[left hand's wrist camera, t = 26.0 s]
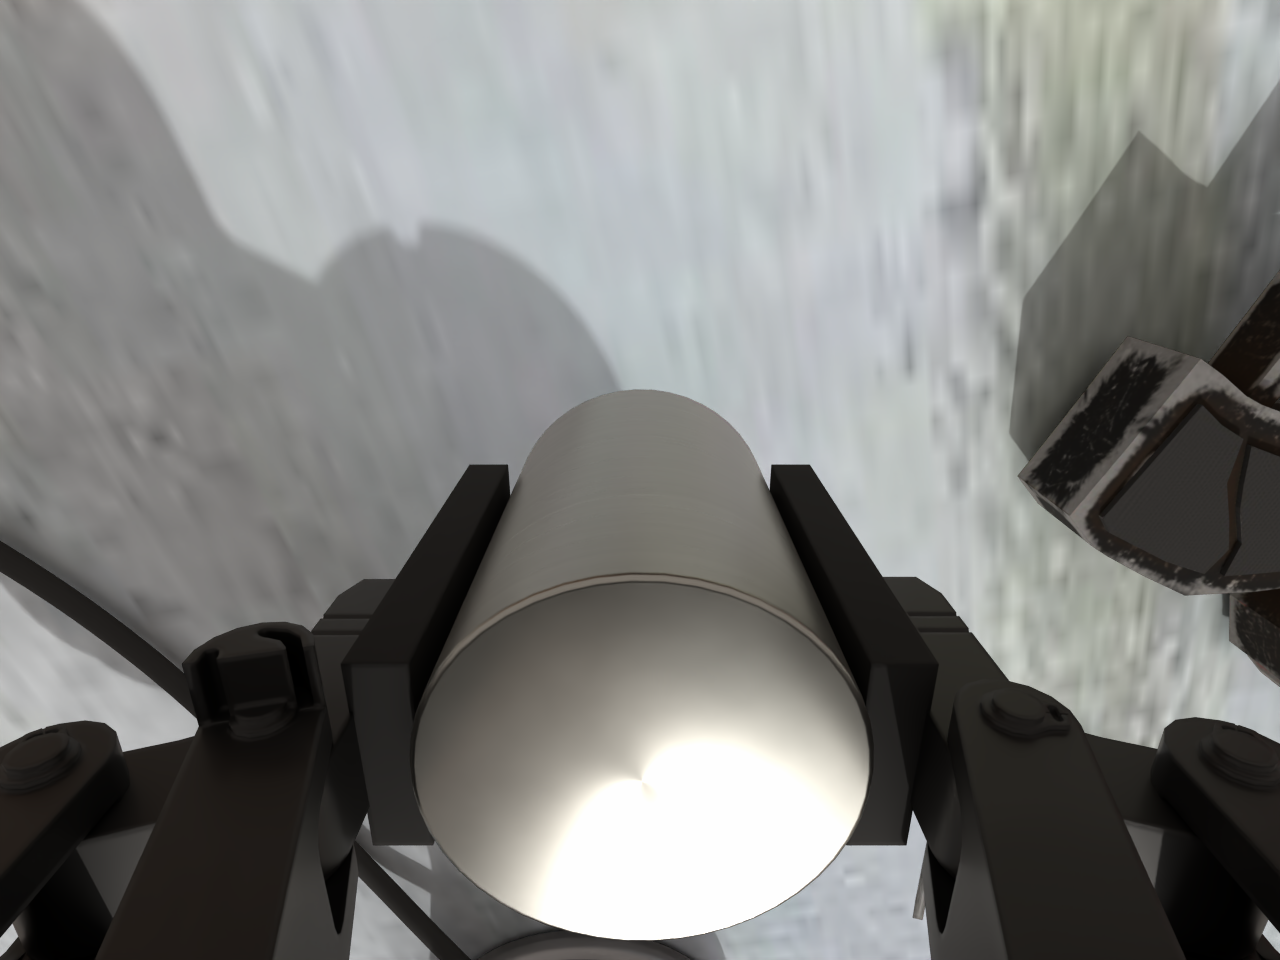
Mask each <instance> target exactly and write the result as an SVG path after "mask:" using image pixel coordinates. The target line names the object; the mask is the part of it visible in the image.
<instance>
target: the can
mask: <svg viewBox="0 0 1280 960" xmlns="http://www.w3.org/2000/svg"><path fill="white" fill-rule="evenodd" d="M410 768H411V777H412V785H413V790H414V793H415V797H416V800H417V803H418V807H419V810H420V813H421V815H422V817H423V819H424V821H425V823H426V825H427V828H428V830H429V832H430V834H431V835H432V837H433V838H434V840H435V841H436V843H437V844H438V846H439V847H440V849H441V850H442V852H443V853H444V854H445V855H446V857H447V858H448V859H449V860H450V861H451V862H452V863H453V865H454V866H455V867H456V868H457V869H458V870H459V871H460V872H461V873H462V874H463V875H464V876H465V877H466V878H468V879H469V880H470V881H471V882H472V883H473V884H474V885H475V886H477V887H478V888H479V889H481V890H482V891H483V892H485V893H486V894H488V895H489V896H491V897H492V898H493V899H495V900H496V901H498V902H499V903H501V904H503V905H505V906H507V907H509V908H510V909H512V910H514V911H516V912H518V913H520V914H521V915H524V916H526V917H529V918H531V919H533V920H536V921H538V922H541V923H543V924H545V925H549V926H552V927H555V928H559V929H562V930H565V931H568V932H572V933H577V934H582V935H587V936H592V937H597V938H606V939H615V940H630V941H655V940H668V939H679V938H685V937H691V936H697V935H702V934H707V933H710V932H714V931H718V930H722V929H725V928H729V927H732V926H735V925H737V924H740V923H742V922H745V921H748V920H750V919H753V918H755V917H757V916H759V915H761V914H763V913H765V912H767V911H769V910H771V909H773V908H775V907H777V906H779V905H781V904H782V903H784V902H785V901H787V900H788V899H790V898H791V897H793V896H794V895H796V894H798V893H799V892H800V891H802V890H803V889H804V888H805V887H806V886H808V885H809V884H810V883H811V882H813V881H814V880H815V879H816V878H817V877H819V876H820V875H821V874H822V872H823V871H824V870H825V869H826V868H827V867H828V866H829V865H830V864H831V863H832V862H833V861H834V860H835V859H836V857H837V856H838V855H839V853H840V852H841V851H842V849H843V848H844V846H845V845H846V844H847V842H848V841H849V840H850V838H851V836H852V834H853V832H854V830H855V828H856V827H857V825H858V823H859V821H860V819H861V817H862V814H863V811H864V808H865V805H866V802H867V799H868V797H869V792H870V787H871V781H872V775H873V769H874V741H873V735H872V729H871V723H870V718H869V715H868V712H867V709H866V706H865V703H864V700H863V697H862V695H861V692H860V690H859V688H858V686H857V684H856V681H855V679H854V677H853V675H852V672H851V670H850V668H849V666H848V664H847V661H846V659H845V657H844V655H843V652H842V650H841V648H840V646H839V644H838V641H837V639H836V637H835V635H834V633H833V630H832V628H831V626H830V624H829V621H828V619H827V617H826V615H825V613H824V610H823V608H822V606H821V604H820V601H819V599H818V597H817V595H816V593H815V590H814V588H813V586H812V584H811V582H810V579H809V577H808V575H807V573H806V570H805V568H804V566H803V564H802V562H801V559H800V557H799V555H798V553H797V550H796V548H795V546H794V544H793V542H792V539H791V537H790V535H789V533H788V530H787V528H786V526H785V524H784V522H783V519H782V517H781V515H780V513H779V511H778V508H777V506H776V504H775V502H774V499H773V497H772V495H771V493H770V491H769V488H768V486H767V484H766V482H765V479H764V477H763V475H762V473H761V471H760V468H759V466H758V464H757V462H756V460H755V458H754V456H753V454H752V452H751V450H750V448H749V447H748V445H747V444H746V442H745V441H744V440H743V438H742V437H741V435H740V434H739V433H738V432H737V431H736V430H735V429H734V428H733V427H732V426H731V425H730V424H729V423H728V422H727V421H726V420H725V419H723V418H722V417H721V416H720V415H718V414H717V413H716V412H714V411H713V410H711V409H709V408H708V407H706V406H704V405H703V404H701V403H699V402H696V401H694V400H692V399H689V398H687V397H684V396H681V395H677V394H673V393H670V392H664V391H657V390H637V389H635V390H626V391H617V392H613V393H609V394H605V395H601V396H598V397H596V398H593V399H591V400H588V401H585V402H584V403H582V404H580V405H578V406H576V407H574V408H572V409H571V410H569V411H568V412H567V413H565V414H564V415H562V416H561V417H560V418H558V419H557V420H556V421H555V422H554V423H553V424H552V425H551V426H550V427H549V428H548V429H547V430H546V431H545V432H544V433H543V435H542V436H541V437H540V438H539V440H538V441H537V442H536V444H535V445H534V447H533V449H532V451H531V452H530V454H529V456H528V458H527V460H526V462H525V464H524V467H523V469H522V471H521V473H520V476H519V478H518V480H517V482H516V485H515V487H514V489H513V492H512V494H511V496H510V498H509V501H508V503H507V505H506V507H505V510H504V512H503V514H502V516H501V519H500V521H499V523H498V525H497V528H496V530H495V532H494V534H493V537H492V539H491V541H490V543H489V546H488V548H487V550H486V552H485V555H484V557H483V559H482V561H481V564H480V566H479V568H478V570H477V573H476V575H475V577H474V580H473V582H472V584H471V586H470V589H469V591H468V593H467V595H466V598H465V600H464V602H463V604H462V607H461V609H460V611H459V613H458V616H457V618H456V620H455V622H454V625H453V627H452V629H451V631H450V634H449V636H448V638H447V640H446V643H445V645H444V647H443V649H442V652H441V654H440V656H439V658H438V661H437V663H436V665H435V668H434V670H433V672H432V674H431V677H430V679H429V681H428V683H427V686H426V688H425V690H424V693H423V695H422V698H421V700H420V703H419V705H418V708H417V710H416V714H415V718H414V723H413V727H412V732H411V739H410Z"/></svg>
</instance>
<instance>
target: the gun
mask: <svg viewBox="0 0 1280 960" xmlns="http://www.w3.org/2000/svg"><path fill="white" fill-rule="evenodd" d="M1279 397H1280V270H1279V272H1278V273H1277V274H1276V276H1275V277H1274V278H1273V279H1272V281H1271V282H1270V283H1269V285H1268V286H1267V287H1266V288H1265V290H1264V291H1263V292H1262V294H1261V295H1260V296H1259V298H1258V299H1257V300H1256V301H1255V303H1254V304H1253V305H1252V307H1251V308H1250V309H1249V311H1248V312H1247V313H1246V314H1245V316H1244V317H1243V318H1242V320H1241V321H1240V322H1239V324H1238V325H1237V326H1236V327H1235V329H1234V330H1233V331H1232V333H1231V334H1230V335H1229V337H1228V338H1227V339H1226V340H1225V342H1224V343H1223V344H1222V346H1221V347H1220V348H1219V350H1218V351H1217V352H1216V353H1215V355H1214V356H1213V357H1212V359H1211V360H1210V361H1209V363H1208V364H1207V363H1206V362H1205V361H1203V360H1202V359H1200V358H1197V357H1193V356H1190V355H1187V354H1184V353H1181V352H1177V351H1174V350H1171V349H1168V348H1165V347H1161V346H1158V345H1155V344H1152V343H1149V342H1145V341H1142V340H1139V339H1136V338H1133V337H1129V336H1127V338H1126V339H1125V340H1124V341H1123V343H1122V344H1121V345H1120V347H1119V348H1118V349H1117V350H1116V352H1115V353H1114V354H1113V356H1112V357H1111V358H1110V359H1109V361H1108V362H1107V363H1106V364H1105V366H1104V367H1103V368H1102V370H1101V371H1100V372H1099V373H1098V375H1097V376H1096V377H1095V379H1094V380H1093V381H1092V382H1091V384H1090V385H1089V386H1088V388H1087V389H1086V390H1085V391H1084V393H1083V394H1082V395H1081V397H1080V398H1079V399H1078V400H1077V402H1076V403H1075V404H1074V406H1073V407H1072V408H1071V409H1070V411H1069V412H1068V413H1067V415H1066V416H1065V417H1064V418H1063V420H1062V421H1061V422H1060V423H1059V425H1058V426H1057V427H1056V428H1055V430H1054V431H1053V432H1052V433H1051V435H1050V436H1049V437H1048V438H1047V440H1046V441H1045V442H1044V443H1043V445H1042V446H1041V447H1040V448H1039V450H1038V451H1037V452H1036V453H1035V455H1034V456H1033V457H1032V459H1031V460H1030V461H1029V462H1028V464H1027V465H1026V466H1025V467H1024V469H1023V470H1022V471H1021V472H1020V474H1019V475H1018V477H1019V479H1020V480H1021V481H1022V483H1023V484H1024V485H1025V487H1026V488H1027V489H1028V491H1029V492H1030V493H1031V495H1032V496H1033V497H1034V499H1035V500H1036V501H1037V503H1038V504H1039V505H1041V506H1042V507H1043V508H1044V509H1046V510H1047V511H1048V512H1050V513H1051V514H1052V515H1053V516H1055V517H1056V518H1057V519H1058V520H1060V521H1061V522H1062V523H1063V524H1065V525H1066V526H1067V527H1068V528H1070V529H1071V530H1072V531H1074V532H1075V533H1076V534H1077V535H1079V536H1080V537H1081V538H1082V539H1084V540H1085V541H1086V542H1087V543H1089V544H1090V545H1091V546H1093V547H1094V548H1096V549H1097V550H1099V551H1100V552H1102V553H1103V554H1105V555H1106V556H1108V557H1110V558H1112V559H1113V560H1115V561H1117V562H1119V563H1121V564H1123V565H1124V566H1126V567H1128V568H1130V569H1132V570H1134V571H1135V572H1137V573H1139V574H1141V575H1143V576H1145V577H1147V578H1149V579H1151V580H1153V581H1155V582H1158V583H1160V584H1162V585H1164V586H1166V587H1168V588H1170V589H1172V590H1174V591H1177V592H1179V593H1181V594H1183V595H1202V594H1221V593H1230V613H1229V641H1230V642H1231V643H1233V644H1234V645H1235V646H1237V647H1238V648H1239V649H1241V650H1242V651H1243V652H1244V653H1246V654H1247V655H1248V657H1249V658H1250V659H1251V660H1252V662H1253V663H1254V664H1255V665H1256V667H1257V668H1258V669H1259V670H1260V672H1261V673H1263V674H1264V675H1265V676H1266V677H1268V678H1269V679H1270V680H1272V681H1273V682H1274V683H1275V684H1277V685H1278V686H1279V687H1280V401H1277V400H1278V399H1279Z"/></svg>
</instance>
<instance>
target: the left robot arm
mask: <svg viewBox="0 0 1280 960" xmlns="http://www.w3.org/2000/svg"><path fill="white" fill-rule="evenodd" d="M770 493H771V495H772V497H773V499H774V502H775V504H776V506H777V508H778V511H779V513H780V515H781V517H782V519H783V522H784V524H785V526H786V528H787V530H788V533H789V535H790V537H791V539H792V542H793V544H794V546H795V548H796V550H797V553H798V555H799V557H800V559H801V562H802V564H803V566H804V568H805V570H806V573H807V575H808V577H809V579H810V582H811V584H812V586H813V588H814V590H815V593H816V595H817V597H818V599H819V601H820V604H821V606H822V608H823V610H824V613H825V615H826V617H827V619H828V621H829V624H830V626H831V628H832V630H833V633H834V635H835V637H836V639H837V641H838V644H839V646H840V648H841V650H842V652H843V655H844V657H845V659H846V661H847V664H848V666H849V668H850V670H851V672H852V675H853V677H854V679H855V681H856V684H857V686H858V688H859V690H860V692H861V695H862V697H863V700H864V703H865V706H866V709H867V712H868V715H869V718H870V723H871V729H872V735H873V741H874V769H873V775H872V781H871V787H870V792H869V797H868V799H867V802H866V805H865V808H864V811H863V814H862V817H861V819H860V821H859V823H858V825H857V827H856V828H855V830H854V832H853V834H852V836H851V838H850V840H849V841H848V842H847V844H846V845H907V839H908V833H909V828H910V822H911V817H912V811H914V814H915V816H916V818H917V820H918V822H919V825H920V827H921V829H922V831H923V834H924V836H925V838H926V840H927V843H926V848H925V854H924V859H923V864H922V869H921V874H920V879H919V885H918V890H917V895H916V900H915V906H914V913H913V918H916V919H920V920H922V919H923V914H924V909H925V908H926V917H927V926H928V935H929V944H930V953H931V960H1280V953H1279V952H1278V951H1276V950H1275V949H1274V947H1273V946H1272V945H1271V944H1270V942H1269V941H1268V940H1267V939H1266V938H1265V936H1264V935H1263V934H1262V933H1263V931H1264V928H1265V926H1266V924H1267V922H1268V920H1269V921H1270V922H1271V923H1272V924H1273V926H1274V927H1275V928H1276V929H1277V930H1278V931H1279V933H1280V744H1279V743H1277V742H1275V741H1273V740H1271V739H1269V738H1267V737H1265V736H1263V735H1261V734H1259V733H1257V732H1256V731H1254V730H1251V729H1249V728H1246V727H1243V726H1240V725H1238V726H1237V725H1235V724H1233V723H1229V722H1225V721H1220V720H1213V719H1205V718H1197V717H1193V718H1186V719H1178V720H1175V721H1173V722H1172V723H1171V724H1169V725H1168V726H1167V727H1166V728H1164V731H1163V734H1162V737H1161V741H1160V744H1159V747H1158V749H1155V748H1150V747H1145V746H1141V745H1136V744H1131V743H1126V742H1121V741H1117V740H1112V739H1107V738H1102V737H1098V736H1095V735H1091V734H1087V733H1084V730H1083V728H1082V726H1081V724H1080V723H1079V722H1078V720H1077V719H1076V718H1075V716H1074V715H1073V714H1072V712H1071V711H1070V710H1069V709H1068V708H1066V707H1065V706H1064V705H1062V704H1061V703H1059V702H1058V701H1057V700H1055V699H1054V698H1053V697H1051V696H1049V695H1047V694H1045V693H1043V692H1040V691H1038V690H1036V689H1034V688H1032V687H1030V686H1026V685H1022V684H1018V683H1014V682H1010V681H1009V680H1008V679H1007V677H1006V676H1005V675H1004V674H1003V672H1002V671H1001V670H1000V668H999V667H998V666H997V664H996V663H995V662H994V661H993V659H992V658H991V657H990V655H989V654H988V653H987V652H986V650H985V649H984V648H983V646H982V645H981V644H980V643H979V641H978V640H977V639H976V637H975V636H974V635H973V633H972V632H969V628H968V627H967V626H966V624H965V623H964V622H963V621H962V619H961V618H960V617H959V616H956V611H955V610H954V609H953V608H952V606H951V605H950V604H949V602H948V601H947V600H946V599H945V597H944V596H943V595H942V593H940V592H939V591H937V590H936V589H934V588H932V587H931V586H929V585H928V584H926V583H925V582H923V581H922V580H920V579H918V578H917V577H882V575H881V574H880V572H879V571H878V569H877V568H876V566H875V564H874V563H873V561H872V560H871V558H870V557H869V555H868V554H867V552H866V551H865V549H864V548H863V546H862V544H861V543H860V541H859V540H858V538H857V537H856V535H855V534H854V532H853V531H852V529H851V527H850V526H849V524H848V523H847V521H846V520H845V518H844V517H843V515H842V514H841V512H840V511H839V509H838V507H837V506H836V504H835V503H834V501H833V500H832V498H831V497H830V495H829V494H828V492H827V491H826V489H825V487H824V486H823V484H822V483H821V481H820V480H819V478H818V477H817V475H816V474H815V472H814V470H813V469H812V467H811V466H810V465H771V479H770ZM509 498H510V486H509V472H508V465H469V467H468V468H467V470H466V471H465V473H464V474H463V476H462V477H461V479H460V481H459V482H458V484H457V485H456V487H455V488H454V490H453V491H452V493H451V494H450V496H449V497H448V499H447V501H446V502H445V504H444V505H443V507H442V508H441V510H440V511H439V513H438V514H437V516H436V517H435V519H434V521H433V522H432V524H431V525H430V527H429V528H428V530H427V531H426V533H425V534H424V536H423V538H422V539H421V541H420V542H419V544H418V545H417V547H416V548H415V550H414V551H413V553H412V554H411V556H410V558H409V559H408V561H407V562H406V564H405V565H404V567H403V568H402V570H401V571H400V573H399V574H398V576H397V578H396V579H363V580H362V581H360V582H359V583H357V584H356V585H354V586H353V587H351V588H350V589H348V590H346V591H345V592H343V593H342V594H340V595H339V596H338V597H337V598H336V599H335V601H334V602H333V603H332V605H331V606H330V607H329V609H328V610H327V611H326V613H325V614H324V618H323V619H320V620H319V622H318V623H317V624H316V626H315V627H314V628H313V629H312V631H311V632H310V631H309V630H307V629H306V628H305V627H304V626H302V625H297V624H292V623H288V622H267V623H259V624H254V625H249V626H245V627H240V628H237V629H234V630H232V631H229V632H227V633H224V634H222V635H219V636H216V637H214V638H212V639H211V640H209V641H208V642H206V643H204V644H203V645H201V646H200V647H198V648H197V649H195V650H194V651H193V652H192V653H191V654H190V655H189V656H188V658H187V659H186V660H185V661H184V662H183V663H182V667H183V670H184V673H183V672H182V671H181V670H179V669H178V668H177V667H176V666H175V665H174V664H172V663H171V662H170V661H169V660H168V659H166V658H165V657H164V656H163V655H162V654H160V653H159V652H158V651H157V650H156V649H154V648H153V647H152V646H151V645H149V644H148V643H147V642H146V641H144V640H143V639H142V638H141V637H139V636H138V635H137V634H135V633H134V632H133V631H132V630H130V629H129V628H128V627H126V626H125V625H124V624H122V623H121V622H120V621H118V620H117V619H116V618H114V617H113V616H112V615H110V614H109V613H108V612H106V611H105V610H104V609H102V608H101V607H100V606H98V605H97V604H95V603H94V602H93V601H91V600H90V599H88V598H87V597H86V596H84V595H83V594H81V593H80V592H78V591H77V590H76V589H74V588H73V587H71V586H70V585H68V584H67V583H65V582H64V581H62V580H61V579H59V578H58V577H56V576H55V575H53V574H52V573H50V572H49V571H47V570H46V569H44V568H43V567H41V566H39V565H38V564H36V563H35V562H33V561H32V560H30V559H29V558H27V557H25V556H24V555H22V554H21V553H19V552H17V551H16V550H14V549H13V548H11V547H9V546H8V545H6V544H4V543H3V542H1V541H0V572H2V573H3V574H5V575H7V576H8V577H10V578H11V579H13V580H15V581H16V582H18V583H19V584H21V585H22V586H24V587H26V588H27V589H29V590H30V591H32V592H33V593H35V594H36V595H38V596H39V597H41V598H43V599H44V600H46V601H47V602H48V603H50V604H51V605H53V606H54V607H56V608H57V609H59V610H60V611H62V612H63V613H65V614H66V615H68V616H69V617H70V618H72V619H73V620H75V621H76V622H77V623H79V624H80V625H82V626H83V627H84V628H86V629H87V630H89V631H90V632H91V633H93V634H94V635H95V636H97V637H98V638H100V639H101V640H102V641H104V642H105V643H106V644H108V645H109V646H110V647H112V648H113V649H114V650H115V651H117V652H118V653H119V654H121V655H122V656H123V657H125V658H126V659H127V660H128V661H130V662H131V663H132V664H134V665H135V666H136V667H137V668H139V669H140V670H141V671H142V672H143V673H145V674H146V675H147V676H148V677H150V678H151V679H152V680H153V681H154V682H156V683H157V684H158V685H159V686H160V687H162V688H163V689H164V690H165V691H166V692H167V693H169V694H170V695H171V696H172V697H173V698H174V699H175V700H177V701H178V702H179V703H180V704H181V705H182V706H183V707H185V708H186V709H187V710H188V711H189V712H190V713H191V714H192V715H193V716H194V717H196V718H197V721H198V725H199V727H198V730H197V732H196V734H195V736H193V737H189V738H186V739H182V740H178V741H173V742H169V743H164V744H159V745H154V746H150V747H145V748H140V749H135V750H131V751H126V752H122V749H121V746H120V742H119V739H118V736H117V733H116V731H114V730H113V729H112V728H111V727H109V726H108V725H107V724H105V723H100V722H93V721H78V722H70V723H62V724H57V725H53V726H49V727H46V728H44V729H42V728H41V729H39V730H36V731H33V732H30V733H28V734H26V735H24V736H23V737H21V738H19V739H17V740H14V741H12V742H10V743H8V744H6V745H4V746H2V747H0V937H1V936H2V935H3V934H4V933H5V932H6V930H7V929H8V928H9V927H10V926H11V924H12V923H13V925H14V928H15V930H16V932H17V934H18V938H17V939H16V940H15V941H14V943H13V944H12V945H11V946H10V947H9V949H8V950H7V951H6V952H5V953H4V954H3V955H2V956H1V957H0V960H349V955H350V946H351V937H352V928H353V919H354V910H355V901H356V892H357V883H358V876H359V877H360V878H361V879H362V880H363V881H364V883H365V884H366V885H367V886H368V887H369V888H370V889H371V890H372V891H373V892H374V893H375V894H376V895H377V896H378V897H379V898H380V899H381V900H382V901H383V902H384V903H385V904H386V905H387V906H388V907H389V908H390V909H391V910H392V911H393V912H394V913H395V914H396V915H397V916H398V918H399V919H400V920H401V921H402V922H403V923H404V924H405V925H406V926H407V927H408V928H409V929H410V930H411V931H412V932H413V933H414V934H415V935H416V936H417V937H418V938H419V939H420V940H421V941H422V942H423V943H424V944H425V945H426V946H427V947H428V948H429V949H430V950H431V951H432V952H433V953H434V954H435V955H436V956H437V957H438V958H439V959H440V960H471V959H470V958H469V957H468V956H467V955H466V954H465V953H464V952H463V951H462V950H461V949H460V948H459V947H458V946H457V945H456V944H455V943H454V942H453V941H452V940H451V939H450V938H449V937H448V936H447V935H446V934H445V933H444V932H443V931H442V930H441V929H440V928H439V927H438V926H437V925H436V924H435V923H434V922H433V921H432V920H431V919H430V918H429V917H428V916H427V915H426V914H425V913H424V912H423V911H422V910H421V909H420V908H419V907H418V906H417V905H416V903H415V902H414V901H413V900H412V899H411V898H410V897H409V896H408V895H407V894H406V893H405V892H404V891H403V890H402V889H401V888H400V887H399V886H398V885H397V884H396V883H395V882H394V880H393V879H392V878H391V877H390V876H389V875H388V874H387V873H386V872H385V871H384V870H383V869H382V868H381V867H380V866H379V865H378V864H377V863H376V862H375V861H374V860H373V859H372V858H371V857H370V856H369V855H368V853H367V852H366V851H365V850H364V849H363V848H362V847H361V846H360V845H359V844H358V843H357V842H356V841H355V838H356V836H357V834H358V832H359V829H360V827H361V825H362V823H363V821H364V818H365V816H366V814H368V820H369V825H370V831H371V836H372V842H373V845H433V844H434V841H435V840H434V838H433V837H432V835H431V834H430V832H429V830H428V828H427V825H426V823H425V821H424V819H423V817H422V815H421V813H420V810H419V807H418V803H417V800H416V797H415V793H414V790H413V785H412V777H411V768H410V739H411V732H412V727H413V723H414V718H415V714H416V710H417V708H418V705H419V703H420V700H421V698H422V695H423V693H424V690H425V688H426V686H427V683H428V681H429V679H430V677H431V674H432V672H433V670H434V668H435V665H436V663H437V661H438V658H439V656H440V654H441V652H442V649H443V647H444V645H445V643H446V640H447V638H448V636H449V634H450V631H451V629H452V627H453V625H454V622H455V620H456V618H457V616H458V613H459V611H460V609H461V607H462V604H463V602H464V600H465V598H466V595H467V593H468V591H469V589H470V586H471V584H472V582H473V580H474V577H475V575H476V573H477V570H478V568H479V566H480V564H481V561H482V559H483V557H484V555H485V552H486V550H487V548H488V546H489V543H490V541H491V539H492V537H493V534H494V532H495V530H496V528H497V525H498V523H499V521H500V519H501V516H502V514H503V512H504V510H505V507H506V505H507V503H508V501H509ZM477 960H691V959H689V958H688V957H686V956H685V955H683V954H681V953H679V952H677V951H675V950H673V949H671V948H669V947H667V946H664V945H662V944H660V943H657V942H654V941H630V940H615V939H606V938H597V937H592V936H587V935H582V934H577V933H572V932H568V931H565V930H564V931H554V932H547V933H542V934H536V935H532V936H529V937H525V938H521V939H518V940H515V941H512V942H509V943H507V944H505V945H502V946H500V947H498V948H496V949H494V950H492V951H490V952H488V953H486V954H485V955H483V956H482V957H480V958H479V959H477Z"/></svg>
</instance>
